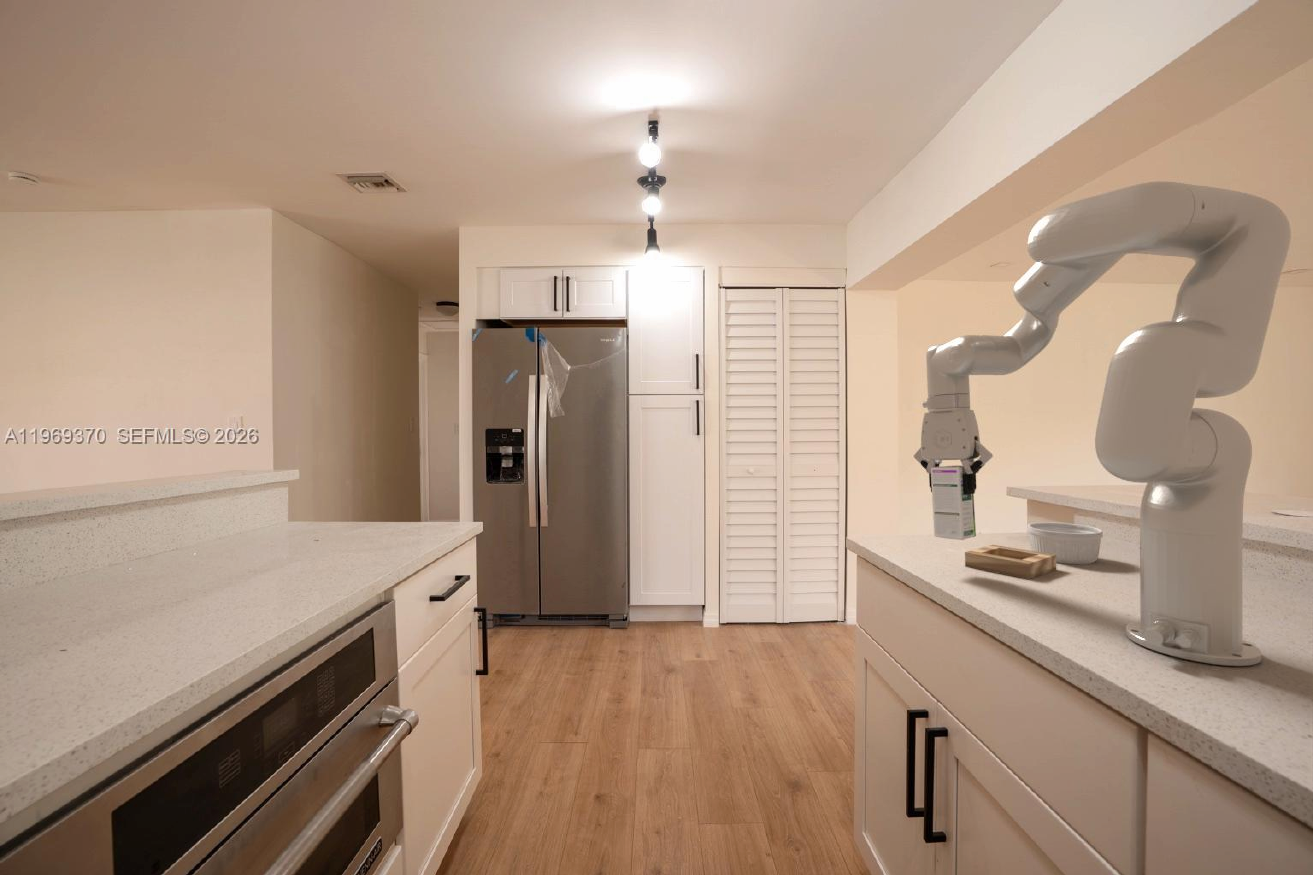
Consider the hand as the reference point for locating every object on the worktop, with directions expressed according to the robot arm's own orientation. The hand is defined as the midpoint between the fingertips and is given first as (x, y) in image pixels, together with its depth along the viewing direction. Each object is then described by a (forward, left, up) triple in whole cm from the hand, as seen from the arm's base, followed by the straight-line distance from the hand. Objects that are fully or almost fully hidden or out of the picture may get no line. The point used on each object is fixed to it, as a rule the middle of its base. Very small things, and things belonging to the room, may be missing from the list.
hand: (952, 492), depth 107 cm
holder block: (+12, -5, -16) cm, 21 cm away
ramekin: (+30, -8, -17) cm, 36 cm away
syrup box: (0, 0, -9) cm, 9 cm away
